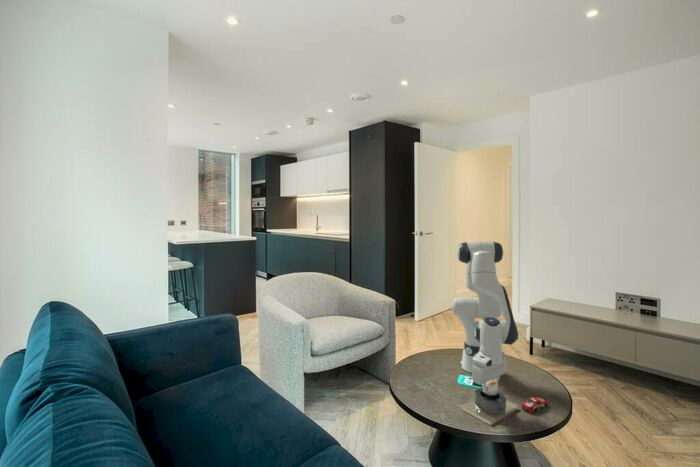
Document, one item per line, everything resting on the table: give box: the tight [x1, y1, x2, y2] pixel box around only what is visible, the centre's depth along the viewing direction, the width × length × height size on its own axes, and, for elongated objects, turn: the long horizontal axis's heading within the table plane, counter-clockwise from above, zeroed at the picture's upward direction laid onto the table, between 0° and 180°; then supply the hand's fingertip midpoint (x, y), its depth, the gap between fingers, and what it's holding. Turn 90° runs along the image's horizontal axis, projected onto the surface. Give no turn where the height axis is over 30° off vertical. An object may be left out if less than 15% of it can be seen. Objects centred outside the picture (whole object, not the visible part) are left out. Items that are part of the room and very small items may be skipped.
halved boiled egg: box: [483, 379, 499, 395], centre depth 152 cm, size 6×6×4 cm
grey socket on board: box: [461, 388, 519, 426], centre depth 153 cm, size 20×14×6 cm
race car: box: [521, 396, 548, 414], centre depth 154 cm, size 13×5×4 cm, turn 118°
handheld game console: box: [457, 374, 482, 390], centre depth 176 cm, size 10×16×1 cm, turn 62°
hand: (490, 387), depth 152 cm, fingers closed on halved boiled egg, 6 cm apart
